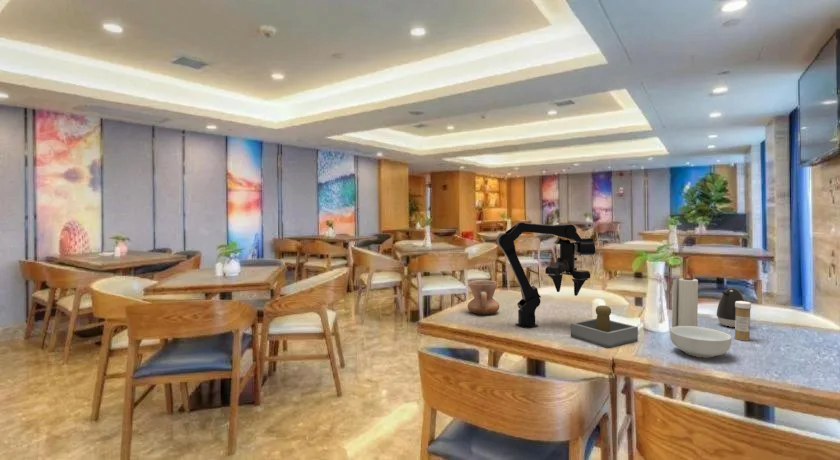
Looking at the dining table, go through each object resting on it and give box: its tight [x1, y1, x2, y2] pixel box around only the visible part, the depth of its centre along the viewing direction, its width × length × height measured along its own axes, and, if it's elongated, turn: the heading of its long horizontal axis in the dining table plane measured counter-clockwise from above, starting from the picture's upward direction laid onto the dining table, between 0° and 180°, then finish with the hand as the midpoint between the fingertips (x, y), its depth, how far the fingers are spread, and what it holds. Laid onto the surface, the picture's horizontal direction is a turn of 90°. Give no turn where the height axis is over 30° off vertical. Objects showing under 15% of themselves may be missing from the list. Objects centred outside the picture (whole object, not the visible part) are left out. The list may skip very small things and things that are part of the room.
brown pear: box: [595, 304, 612, 332], centre depth 161 cm, size 6×6×11 cm
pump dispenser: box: [716, 287, 745, 328], centre depth 176 cm, size 10×10×15 cm
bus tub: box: [570, 317, 639, 349], centre depth 161 cm, size 16×16×5 cm
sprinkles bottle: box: [734, 301, 752, 342], centre depth 158 cm, size 5×5×13 cm
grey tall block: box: [671, 277, 699, 328], centre depth 161 cm, size 7×6×21 cm
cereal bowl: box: [669, 326, 732, 359], centre depth 143 cm, size 17×17×7 cm
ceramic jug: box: [467, 279, 500, 315], centre depth 203 cm, size 18×14×14 cm
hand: (566, 293), depth 179 cm, fingers open, 9 cm apart
